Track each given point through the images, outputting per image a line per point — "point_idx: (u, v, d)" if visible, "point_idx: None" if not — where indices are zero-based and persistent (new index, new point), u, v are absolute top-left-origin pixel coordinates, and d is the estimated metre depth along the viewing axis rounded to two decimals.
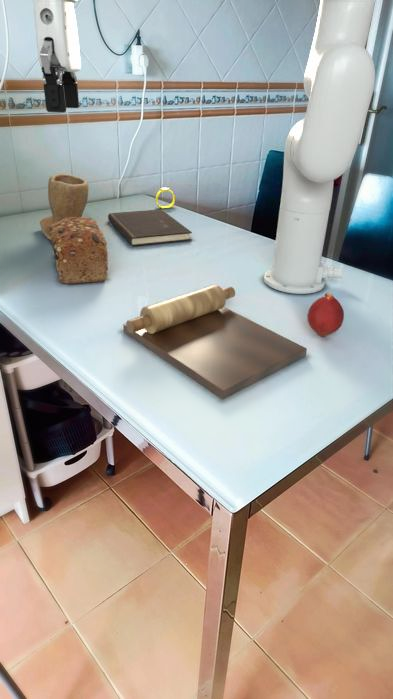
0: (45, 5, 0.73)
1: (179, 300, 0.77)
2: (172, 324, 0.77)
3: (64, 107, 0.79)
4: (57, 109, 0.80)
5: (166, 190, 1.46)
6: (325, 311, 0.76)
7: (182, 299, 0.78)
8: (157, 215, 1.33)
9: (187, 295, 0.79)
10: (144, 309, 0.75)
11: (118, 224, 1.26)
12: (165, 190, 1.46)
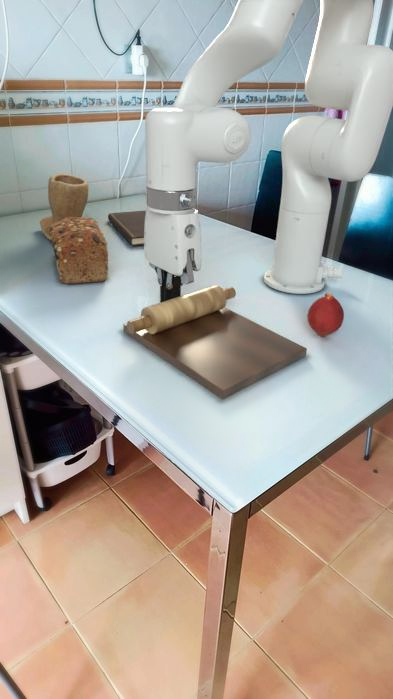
0: (189, 222, 0.72)
1: (180, 300, 0.77)
2: (173, 324, 0.76)
3: None
4: None
5: None
6: (325, 311, 0.76)
7: (183, 300, 0.77)
8: None
9: (188, 295, 0.79)
10: (144, 309, 0.75)
11: (118, 224, 1.26)
12: None
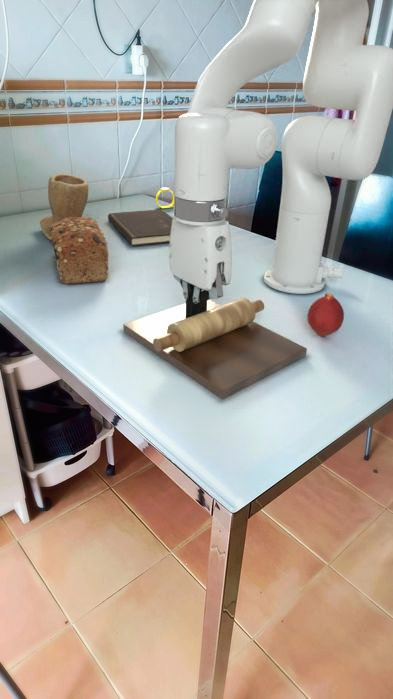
0: (220, 234, 0.67)
1: (208, 315, 0.73)
2: (201, 341, 0.72)
3: None
4: None
5: (166, 190, 1.46)
6: (325, 311, 0.76)
7: (211, 315, 0.73)
8: (157, 215, 1.33)
9: (216, 310, 0.74)
10: (171, 325, 0.71)
11: (118, 224, 1.26)
12: (165, 190, 1.46)
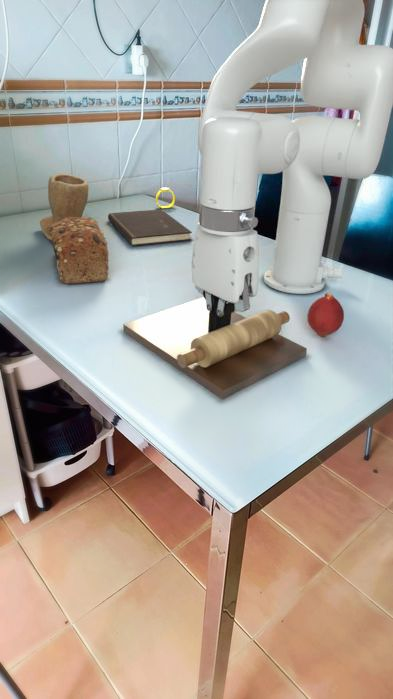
0: (248, 244, 0.64)
1: (234, 329, 0.69)
2: (226, 356, 0.69)
3: None
4: None
5: (166, 190, 1.46)
6: (325, 311, 0.76)
7: (237, 328, 0.70)
8: (157, 215, 1.33)
9: (241, 323, 0.71)
10: (196, 340, 0.67)
11: (118, 224, 1.26)
12: (165, 190, 1.46)
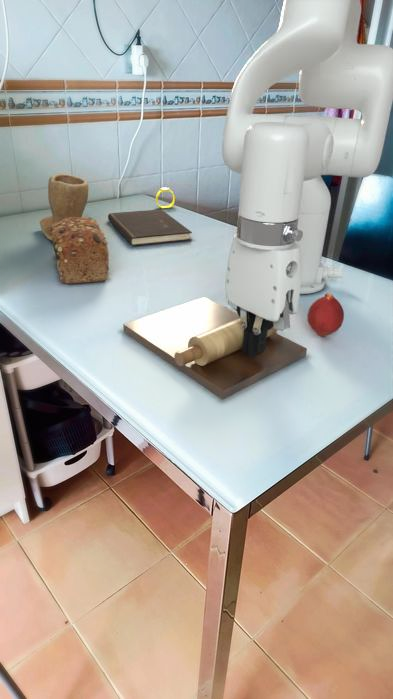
0: (291, 259, 0.59)
1: (231, 327, 0.70)
2: (224, 355, 0.69)
3: None
4: None
5: (166, 190, 1.46)
6: (325, 311, 0.76)
7: (234, 327, 0.70)
8: (157, 215, 1.33)
9: (239, 322, 0.71)
10: (193, 338, 0.68)
11: (118, 224, 1.26)
12: (165, 190, 1.46)
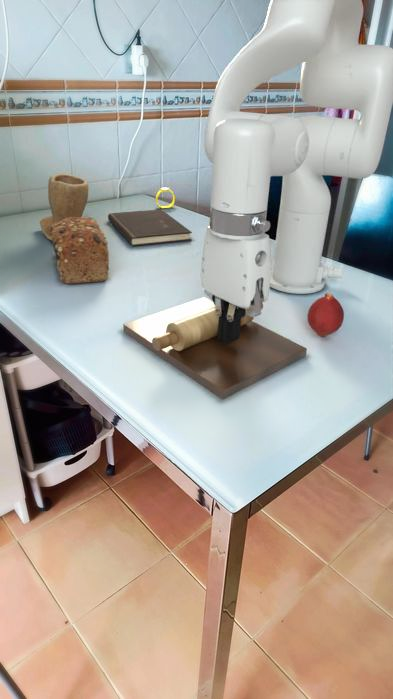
0: (260, 248, 0.62)
1: (207, 314, 0.73)
2: (200, 340, 0.72)
3: (238, 334, 0.73)
4: (233, 338, 0.73)
5: (166, 190, 1.46)
6: (325, 311, 0.76)
7: (210, 314, 0.73)
8: (157, 215, 1.33)
9: (215, 309, 0.75)
10: (170, 325, 0.71)
11: (118, 224, 1.26)
12: (165, 190, 1.46)
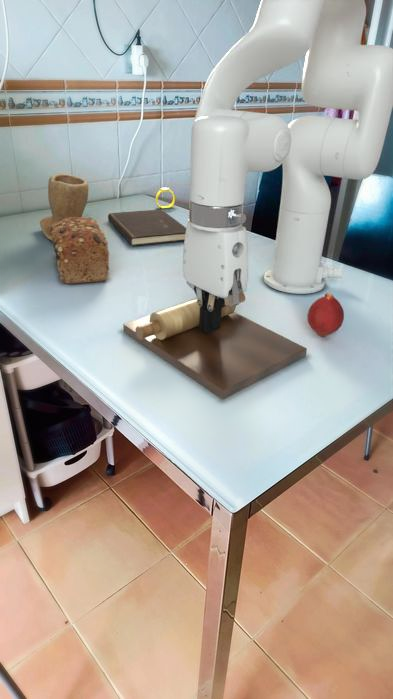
0: (237, 240, 0.65)
1: (189, 305, 0.76)
2: (182, 330, 0.75)
3: (219, 324, 0.76)
4: None
5: (166, 190, 1.46)
6: (325, 311, 0.76)
7: (192, 304, 0.76)
8: (157, 215, 1.33)
9: None
10: (153, 315, 0.74)
11: (118, 224, 1.26)
12: (165, 190, 1.46)
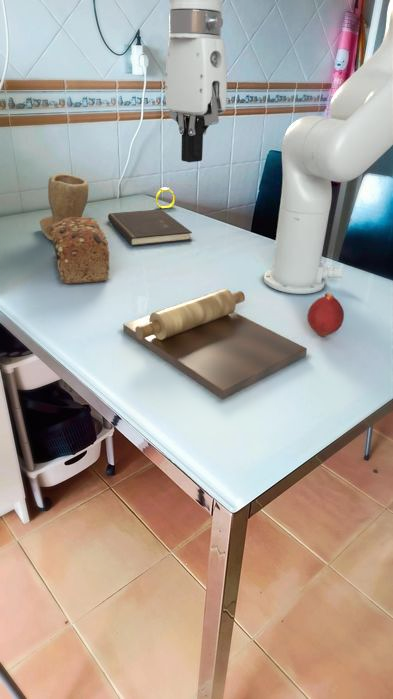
0: (215, 48, 0.68)
1: (189, 305, 0.76)
2: (182, 330, 0.75)
3: (201, 156, 0.79)
4: (196, 158, 0.78)
5: (166, 190, 1.46)
6: (325, 311, 0.76)
7: (192, 304, 0.76)
8: (157, 215, 1.33)
9: (197, 300, 0.77)
10: (153, 314, 0.74)
11: (118, 224, 1.26)
12: (165, 190, 1.46)
